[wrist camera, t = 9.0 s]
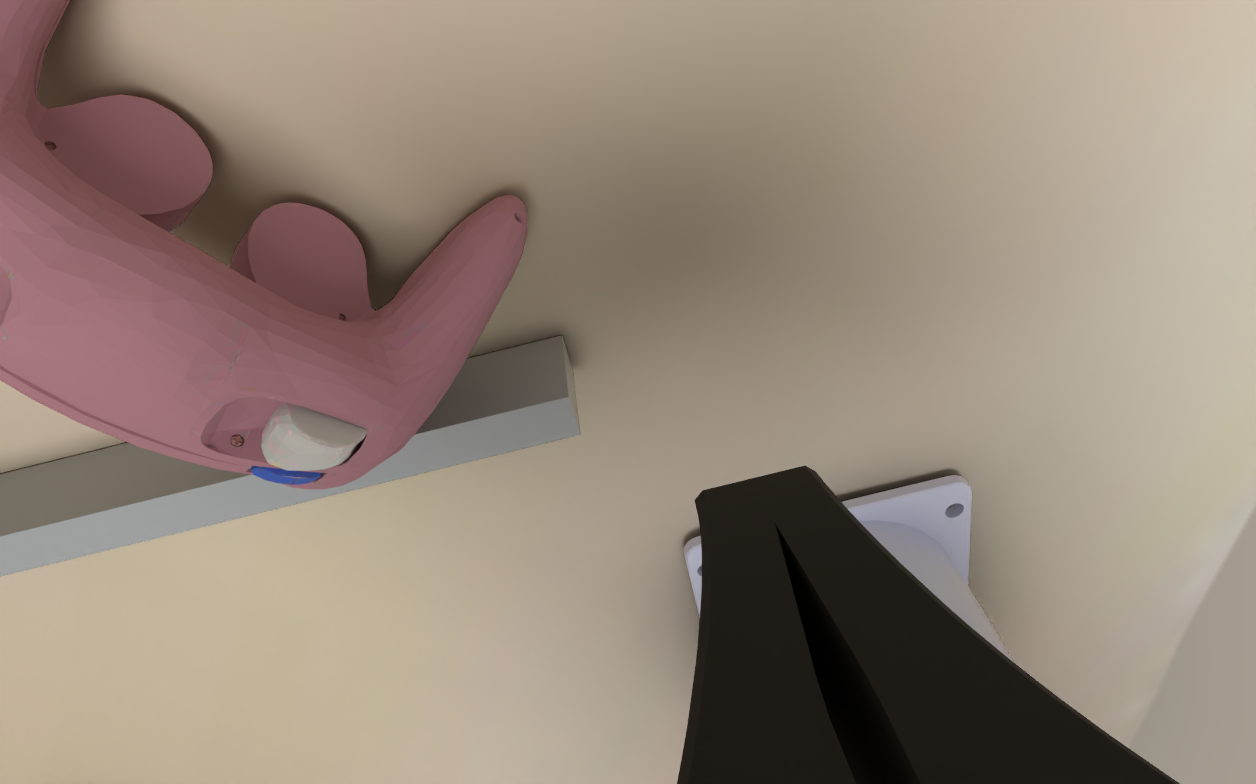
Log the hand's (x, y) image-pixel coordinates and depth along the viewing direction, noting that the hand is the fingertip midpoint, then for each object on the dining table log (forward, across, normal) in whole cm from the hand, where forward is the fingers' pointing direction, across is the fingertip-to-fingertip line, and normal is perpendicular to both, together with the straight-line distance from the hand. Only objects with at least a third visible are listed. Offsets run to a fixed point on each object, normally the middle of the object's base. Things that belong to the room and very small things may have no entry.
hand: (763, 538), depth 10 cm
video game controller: (+10, +7, -3) cm, 13 cm away
